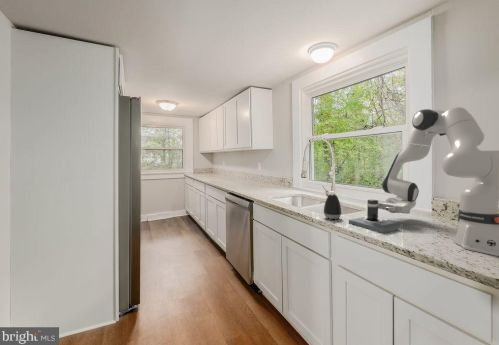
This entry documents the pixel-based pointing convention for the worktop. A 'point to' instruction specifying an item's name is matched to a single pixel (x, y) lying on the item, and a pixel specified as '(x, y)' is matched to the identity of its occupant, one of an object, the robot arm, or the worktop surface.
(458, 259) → the worktop surface
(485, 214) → the robot arm
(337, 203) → the pump dispenser
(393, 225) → the mount
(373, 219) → the lens
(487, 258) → the worktop surface
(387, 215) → the worktop surface
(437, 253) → the worktop surface
